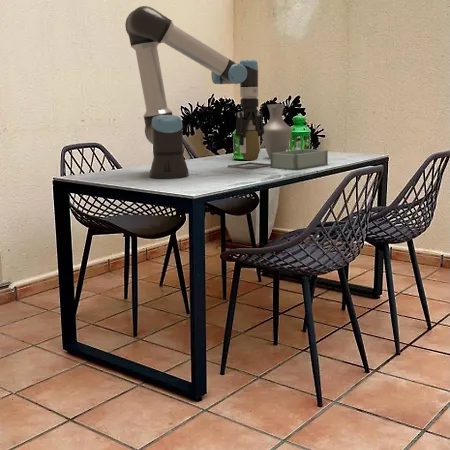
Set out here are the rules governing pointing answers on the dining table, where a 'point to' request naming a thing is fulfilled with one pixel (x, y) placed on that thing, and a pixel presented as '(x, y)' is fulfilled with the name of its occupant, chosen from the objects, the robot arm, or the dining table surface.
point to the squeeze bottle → (251, 143)
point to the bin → (299, 159)
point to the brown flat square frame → (249, 167)
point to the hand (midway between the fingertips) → (250, 151)
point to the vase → (276, 131)
